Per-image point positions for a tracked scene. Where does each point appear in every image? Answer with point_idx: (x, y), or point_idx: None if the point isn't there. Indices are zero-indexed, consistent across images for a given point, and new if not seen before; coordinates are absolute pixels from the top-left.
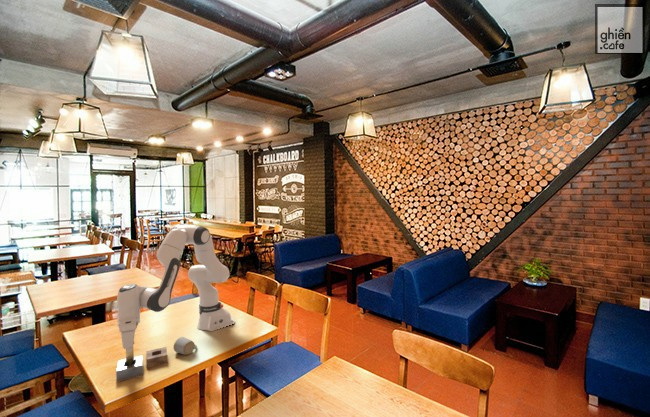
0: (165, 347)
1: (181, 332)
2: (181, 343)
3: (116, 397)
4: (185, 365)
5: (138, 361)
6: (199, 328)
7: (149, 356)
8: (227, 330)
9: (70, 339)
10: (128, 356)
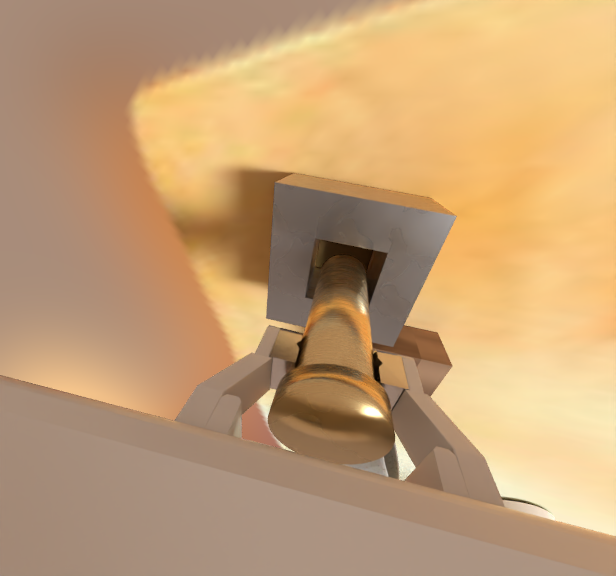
0: None
1: (558, 472)
2: (345, 465)
3: (145, 158)
4: (267, 394)
5: None
6: (506, 503)
7: None
8: None
9: None
10: (313, 299)
